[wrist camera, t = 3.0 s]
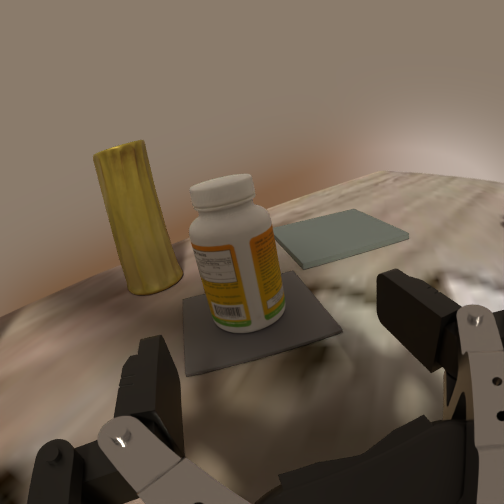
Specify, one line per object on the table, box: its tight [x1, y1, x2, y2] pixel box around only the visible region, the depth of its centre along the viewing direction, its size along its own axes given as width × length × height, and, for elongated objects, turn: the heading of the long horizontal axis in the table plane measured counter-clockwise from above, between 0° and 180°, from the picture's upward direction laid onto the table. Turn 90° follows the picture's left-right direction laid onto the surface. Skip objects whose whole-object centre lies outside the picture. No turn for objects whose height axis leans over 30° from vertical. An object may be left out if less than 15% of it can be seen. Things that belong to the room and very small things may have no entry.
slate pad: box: [273, 209, 409, 269], centre depth 35 cm, size 12×12×1 cm
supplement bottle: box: [189, 174, 285, 333], centre depth 21 cm, size 5×5×10 cm
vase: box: [93, 140, 183, 295], centre depth 30 cm, size 6×6×14 cm
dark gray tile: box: [183, 271, 343, 377], centre depth 23 cm, size 10×10×1 cm
